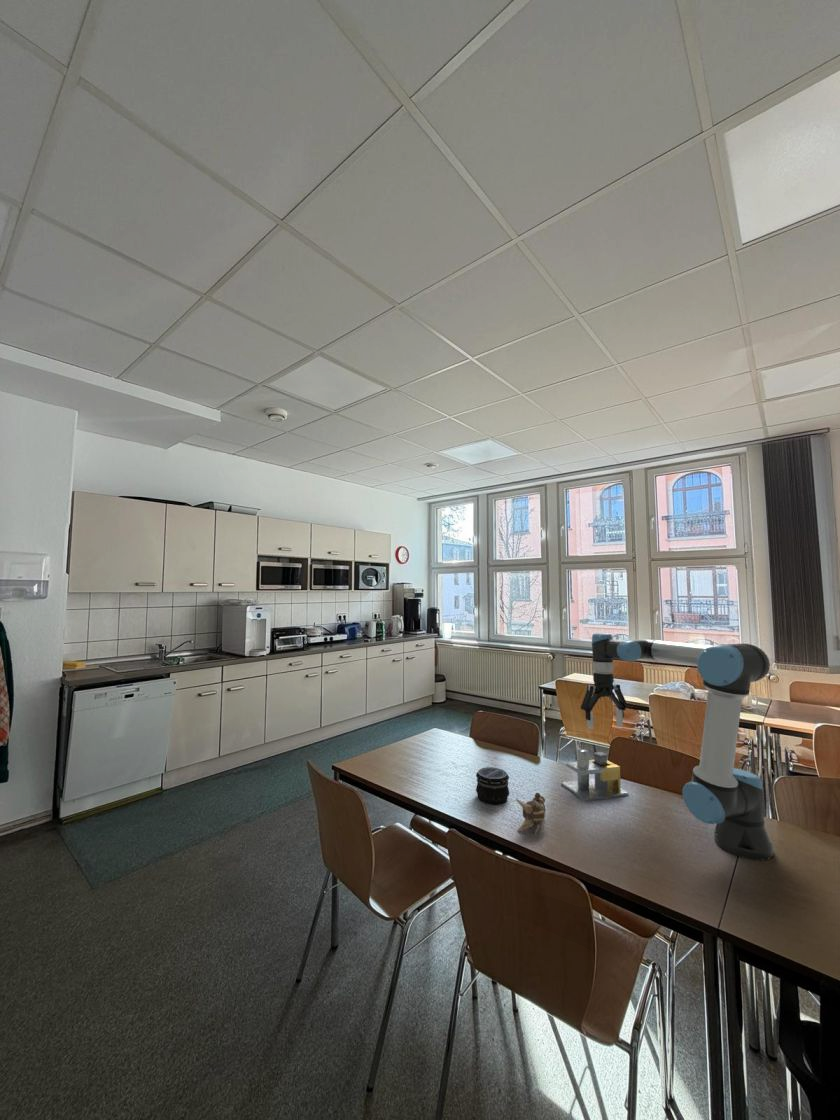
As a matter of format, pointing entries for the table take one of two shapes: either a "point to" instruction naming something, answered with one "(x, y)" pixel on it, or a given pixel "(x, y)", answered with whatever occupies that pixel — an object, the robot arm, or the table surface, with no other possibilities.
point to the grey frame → (587, 786)
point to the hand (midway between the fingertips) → (605, 727)
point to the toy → (533, 812)
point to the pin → (601, 761)
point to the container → (492, 786)
